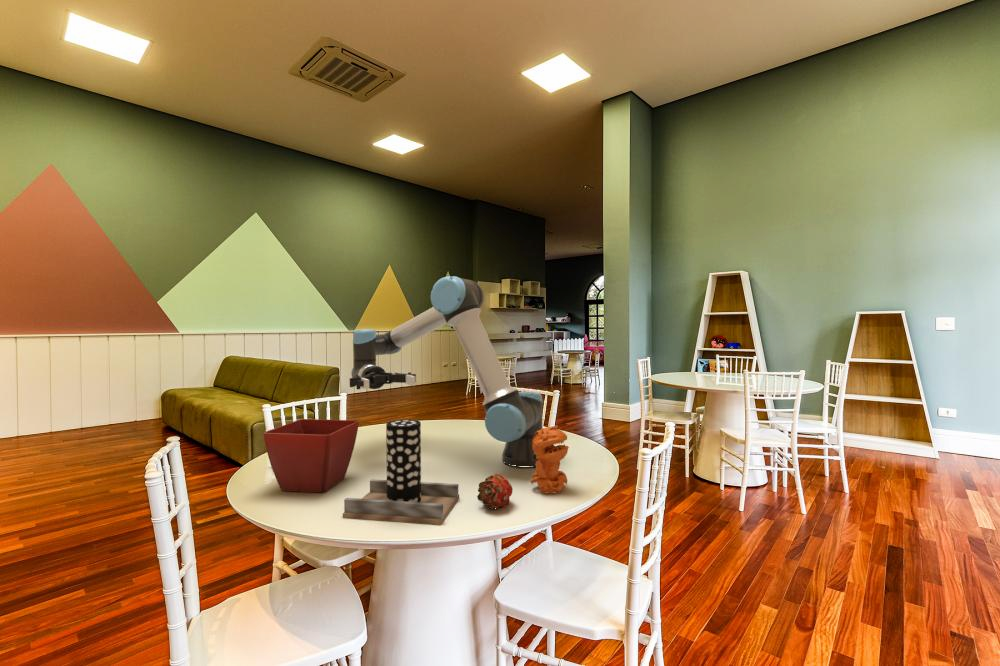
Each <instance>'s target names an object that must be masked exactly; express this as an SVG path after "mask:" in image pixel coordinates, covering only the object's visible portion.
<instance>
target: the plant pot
mask: <svg viewBox="0 0 1000 666" xmlns="http://www.w3.org/2000/svg"><path fill="white" fill-rule="evenodd" d="M359 423H360V422H359V420H347V419H322V418H321V419H320V418H317V419H315V418H313V419H312V418H300V419H297V420H294V421H291V422H289V423H286V424H284V425H280V426H277V427H275V428H272V429H269V430H267V431H264V432H263V438H264V439H263V440H264V443H265V444H264V445H265V448H266V452H267V456H268V460H269V463H270V466H271V469H272V472H273V475H274V477H275V479H276V482H277V484H278V486H279V488H280V490H281V491H283V492H284V491H285V492H298V491H301V492H300V493H303V492H304V493H316V492H318V493H319V494H320V493H321V494H322V493H325V492H327V491H328V490H329V489H332V487H334V486H336V485H337V484H338V483H340V482H341V481H342V480H344V479H345V477H346V474H347V471H348V469H349V467H350V463H351V459H352V456H353V452H354V449H355V444H356V440H357V434H358V431H359V430H358V429H359Z"/></svg>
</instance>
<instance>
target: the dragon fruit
mask: <svg viewBox="0 0 1000 666" xmlns="http://www.w3.org/2000/svg"><path fill="white" fill-rule="evenodd" d="M477 492H478V494H477V495H476V497H477V500H478V501H480V502H482V504H483V505H485V506H487V507H488V508H490V509H492V510H494V509H495V508H496V510H498V509H499V508H500V506H501V507H505V506H506V507H508V506H509V504H510V498H511V496H512V495H513V486H512V484H511V483H510V482H509V480H507V478H505V477H504V476H503V475H502V474H500V473H495V474H494V475H489V476H487V477H486V478H485V480H484V481H481V482H479V483H478V489H477Z"/></svg>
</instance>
